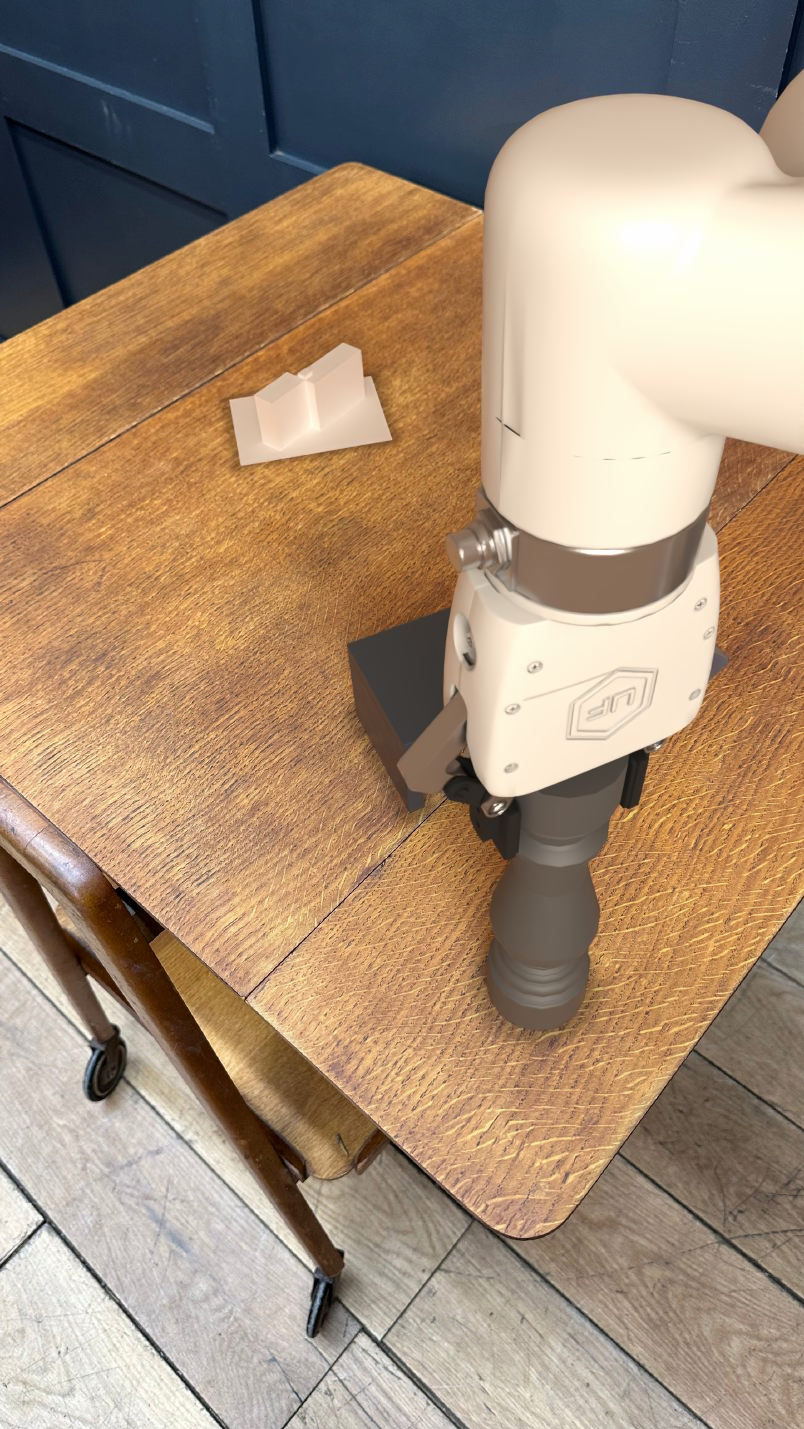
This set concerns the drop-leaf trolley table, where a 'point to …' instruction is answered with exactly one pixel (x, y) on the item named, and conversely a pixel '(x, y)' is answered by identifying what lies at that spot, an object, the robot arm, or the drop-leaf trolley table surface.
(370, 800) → the drop-leaf trolley table surface
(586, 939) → the candle holder
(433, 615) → the shelf
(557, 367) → the robot arm
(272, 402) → the napkin holder
